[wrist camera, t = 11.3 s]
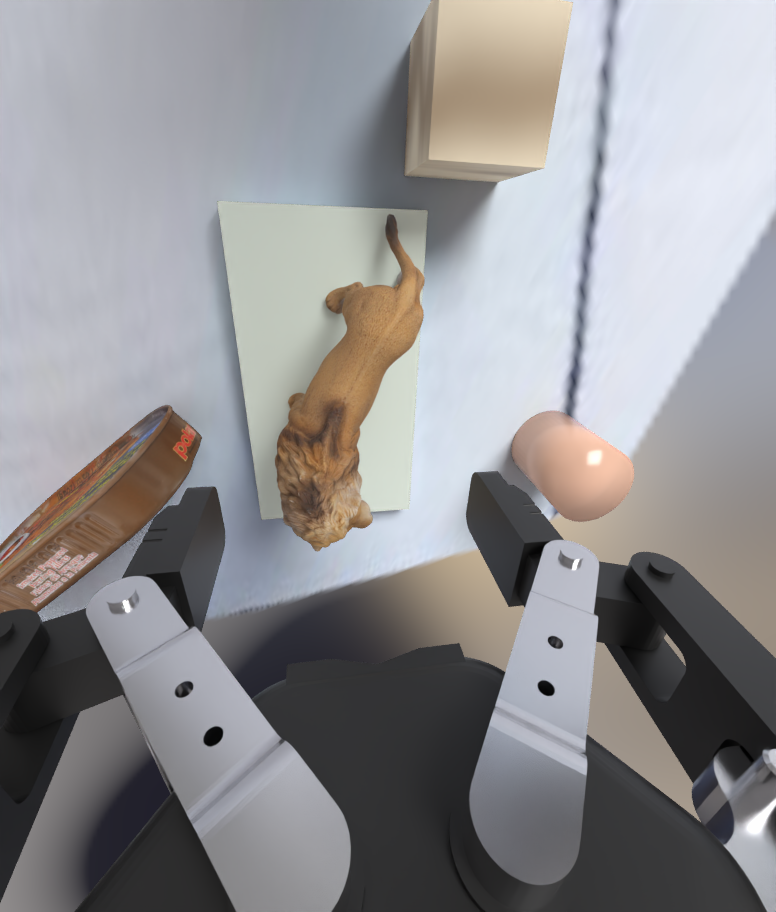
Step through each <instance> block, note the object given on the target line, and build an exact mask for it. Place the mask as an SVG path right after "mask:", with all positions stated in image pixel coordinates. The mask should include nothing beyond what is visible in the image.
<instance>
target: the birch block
mask: <svg viewBox="0 0 776 912" xmlns="http://www.w3.org/2000/svg"><path fill="white" fill-rule="evenodd" d="M572 5H573V2H568V1H561V0H431V2H430V4H429V6H428V8H427V10H426V12H425V14H424V16H423V18H422V20H421V22H420V24H419V26H418V28H417V30H416V32H415V34H414V36H413V38H412V40H411V42H410V61H409V83H408V105H407V127H406V148H405V170H404V176H413V177H428V178H443V179H458V180H472V181H487V182H500V181H504V180H507V179H510V178H513V177H517V176H520V175H523V174H527V173H530V172H533V171H536V170H540V169H543V168H544V166H545V161H546V155H547V149H548V143H549V138H550V132H551V126H552V120H553V115H554V109H555V103H556V97H557V92H558V86H559V80H560V74H561V69H562V63H563V57H564V51H565V46H566V40H567V34H568V28H569V23H570V17H571V11H572Z"/></svg>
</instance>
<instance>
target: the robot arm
mask: <svg viewBox="0 0 776 912" xmlns="http://www.w3.org/2000/svg"><path fill="white" fill-rule="evenodd" d="M466 519H467V525H468V528H469V531H470V533H471V535H472V537H473V539H474V540H475V542H476V544H477V546H478V548H479V550H480V552H481V554H482V556H483V558H484V560H485V562H486V564H487V566H488V567H489V569H490V571H491V573H492V575H493V577H494V579H495V581H496V583H497V585H498V587H499V589H500V591H501V592H502V595H503V596H504V598H505V600H506V602H507V604H508V606H509V607H512V606H520V605H524V607H525V610H524V613H523V616H522V620H521V623H520V626H519V630H518V633H517V636H516V639H515V643H514V646H513V649H512V653H511V656H510V660H509V662H508V666H507V669H506V672H504V671H502V670H501V669H499V668H497V667H495V666H493V665H491V664H489V663H486V662H483V661H480V660H476V659H472V658H467V657H464V655H463V652H462V650H461V647H460V644H459V643H458V644H449V645H441V646H433V647H426V648H418V649H416V650H413V651H411V652H408V653H405V654H403V655H400V656H398V657H395V658H393V659H390V660H387V661H385V662H382V663H379V664H371V663H361V662H353V661H345V660H335V659H327V660H319V661H311V662H302V663H294V664H287V676H286V680H283V681H280V682H278V683H276V684H274V685H272V686H270V687H268V688H267V689H265V690H264V691H262V692H260V693H259V694H257V695H256V696H255V697H254V698H252V699H250V697H249V696H248V695H247V694H246V692H245V691H244V689H243V688H242V687H241V685H240V684H239V683H238V681H237V680H236V679H235V677H234V676H233V675H232V674H231V672H230V671H229V670H228V668H227V667H226V665H225V664H224V663H223V661H222V660H221V659H220V657H219V656H218V655H217V653H216V652H215V651H214V649H213V648H212V647H211V646H210V644H209V643H208V641H207V640H206V639H205V637H204V636H203V635H202V633H201V631H202V627H203V624H204V620H205V616H206V613H207V609H208V605H209V602H210V598H211V594H212V591H213V587H214V584H215V580H216V576H217V573H218V569H219V565H220V562H221V558H222V554H223V551H224V546H225V528H224V523H223V518H222V513H221V507H220V502H219V497H218V493H217V489H216V488H215V487H196V488H187V489H186V491H185V493H184V495H183V497H182V499H181V502H180V504H179V505H174V506H168V507H167V508H165V509H164V510H163V511H162V512H161V513H159V514H158V515H157V516H156V517H155V518H154V520H153V522H152V524H151V525H150V527H149V529H148V532H147V533H146V535H145V536H144V538H143V543H141V544H140V546H139V548H138V549H137V551H136V553H135V555H134V557H133V559H132V560H131V562H130V564H129V566H128V568H127V570H126V572H125V573H124V575H123V577H122V579H119V580H117V581H114V582H112V583H110V584H108V585H107V586H105V587H103V588H102V589H101V590H99V591H98V592H97V593H96V594H95V595H94V596H93V597H92V598H91V600H90V601H89V603H88V605H87V608H85V609H83V610H80V611H77V612H74V613H71V614H67V615H64V616H61V617H58V618H54V619H51V620H48V621H45V622H42V620H41V618H40V616H39V615H38V614H37V613H36V612H35V611H33V610H29V609H16V610H10V611H6V612H3V613H0V902H1V900H2V897H3V895H4V892H5V890H6V888H7V885H8V883H9V880H10V878H11V876H12V873H13V871H14V868H15V866H16V863H17V861H18V859H19V856H20V854H21V852H22V849H23V847H24V844H25V842H26V840H27V837H28V835H29V832H30V830H31V828H32V825H33V823H34V820H35V818H36V816H37V813H38V811H39V808H40V806H41V804H42V801H43V799H44V796H45V794H46V792H47V789H48V787H49V784H50V782H51V780H52V777H53V775H54V772H55V770H56V768H57V765H58V763H59V760H60V758H61V756H62V753H63V751H64V748H65V746H66V744H67V741H68V738H69V736H70V734H71V732H72V729H73V727H74V724H75V722H76V720H77V717H78V715H79V713H80V711H83V710H85V709H88V708H90V707H93V706H95V705H98V704H100V703H103V702H105V701H108V700H110V699H113V698H115V697H118V696H120V695H123V696H124V698H125V700H126V702H127V704H128V706H129V708H130V711H131V713H132V715H133V717H134V719H135V720H136V723H137V725H138V727H139V729H140V731H141V733H142V735H143V737H144V739H145V741H146V743H147V745H148V747H149V749H150V751H151V753H152V755H153V757H154V759H155V762H156V763H157V766H158V768H159V770H160V772H161V774H162V776H163V778H164V781H165V783H166V785H167V787H168V789H169V791H170V793H171V794H170V796H169V797H168V798H167V799H166V800H165V801H164V803H163V804H162V805H161V806H160V808H159V809H158V810H157V811H156V813H155V814H154V815H153V816H152V817H151V819H150V820H149V821H148V822H147V823H146V825H145V826H144V827H143V828H142V830H141V831H140V832H139V833H138V835H137V836H136V837H135V838H134V839H133V841H132V842H131V843H130V844H129V846H128V847H127V848H126V849H125V850H124V852H123V853H122V854H121V855H120V857H119V858H118V859H117V860H116V861H115V863H114V864H113V865H112V866H111V867H110V869H109V870H108V871H107V872H106V874H105V875H104V876H103V877H102V879H101V880H100V881H99V882H98V883H97V885H96V886H95V887H94V888H93V890H92V891H91V892H90V893H89V894H88V896H87V897H86V898H85V899H84V901H83V902H82V903H81V904H80V905H79V907H78V908H77V909H76V910H75V912H776V658H775V657H773V655H771V653H770V652H769V651H768V650H767V649H765V647H763V646H762V644H760V643H759V642H758V641H757V640H756V639H755V638H754V637H753V636H752V635H751V634H750V633H749V632H748V631H747V630H746V629H745V628H744V627H743V626H742V625H741V624H740V623H739V622H738V621H737V620H736V619H735V618H734V617H733V616H732V615H731V614H730V613H729V612H728V611H727V610H726V609H725V608H724V607H723V606H722V605H721V604H720V603H719V602H718V601H717V600H716V599H715V598H714V597H713V596H712V595H711V594H710V593H709V592H708V591H707V590H706V589H705V588H704V587H703V586H702V585H701V584H700V583H699V582H698V581H697V580H696V579H695V578H694V577H693V576H692V575H691V574H690V573H689V572H688V571H687V570H686V569H685V568H684V567H683V566H681V565H680V564H678V563H677V562H675V561H673V560H672V559H670V558H668V557H665V556H663V555H660V554H656V553H651V552H639V553H636V554H634V555H633V556H632V558H631V560H630V562H629V565H628V566H625V565H618V564H612V563H605V562H599V561H598V559H597V557H596V556H595V555H594V554H593V553H592V552H591V551H590V550H589V549H587V548H586V547H584V546H582V545H580V544H578V543H575V542H572V541H567V540H564V539H563V538H562V537H561V536H560V535H559V533H558V532H557V531H556V529H554V527H553V526H552V524H551V523H550V522H549V521H548V519H547V518H546V517H545V516H544V515H543V514H541V511H540V510H539V508H538V507H537V506H535V503H534V502H533V501H532V500H531V498H530V497H529V496H528V495H527V493H525V492H523V491H522V490H520V489H519V488H517V487H516V486H514V485H508V484H507V483H506V481H505V480H504V479H503V478H502V476H501V475H500V474H499V472H497V471H492V472H475V473H474V474H473V475H472V478H471V484H470V491H469V498H468V504H467V511H466ZM666 633H667V634H668V636H669V637H670V638H671V639H672V641H673V642H674V643H675V644H676V646H677V647H678V648H679V649H680V651H681V652H682V654H683V656H684V659H685V663H686V666H685V665H684V664H683V662H682V661H681V660H680V659H679V657H678V656H677V655H676V654H675V652H674V651H673V650H672V648H671V647H670V646H669V645H668V643H667V642H666V641H665V639H664V636H665V635H666ZM596 642H602V643H605V645H606V646H607V648H608V650H609V651H610V653H611V654H612V656H613V657H614V659H615V661H616V662H617V664H618V665H619V667H620V669H621V670H622V672H623V673H624V675H625V676H626V678H627V680H628V681H629V683H630V684H631V686H632V687H633V689H634V691H635V692H636V694H637V695H638V697H639V698H640V700H641V702H642V703H643V705H644V706H645V708H646V709H647V711H648V713H649V714H650V716H651V717H652V719H653V720H654V722H655V724H656V725H657V727H658V728H659V730H660V732H661V733H662V735H663V736H664V738H665V739H666V741H667V743H668V744H669V746H670V747H671V749H672V751H673V752H674V754H675V755H676V757H677V758H678V760H679V761H680V763H681V765H682V766H683V768H684V770H685V771H686V773H687V774H688V776H689V777H690V779H691V781H692V782H693V787H692V800H693V805H694V807H695V810H696V813H697V814H698V817H699V819H700V821H701V822H700V821H698V820H697V819H696V818H694V816H692V815H691V814H690V813H688V812H687V811H686V810H685V809H683V808H682V807H681V806H679V805H678V804H677V803H676V802H674V801H673V800H672V799H670V798H669V797H668V796H666V795H665V794H664V793H663V792H661V791H660V790H659V789H657V788H656V787H655V786H653V785H652V784H651V783H650V782H648V781H647V780H646V779H644V778H643V777H642V776H640V775H639V774H638V773H637V772H635V771H634V770H633V769H631V768H630V767H629V766H628V765H626V764H625V763H624V762H622V761H621V760H620V759H618V758H617V757H616V756H614V755H613V754H612V753H611V752H609V751H608V750H606V749H605V748H604V747H603V746H602V745H600V744H599V743H597V742H596V741H595V740H594V739H592V738H591V737H590V736H589V735H587V724H588V715H589V705H590V696H591V686H592V676H593V667H594V657H595V647H596Z"/></svg>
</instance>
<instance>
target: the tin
mask: <svg viewBox="0 0 776 912" xmlns="http://www.w3.org/2000/svg"><path fill="white" fill-rule="evenodd" d="M201 439H202V437H201V435H200V434H199V433H198V432H197V431H196V430H195V429H194V428H193V427H192V426H190V425H189V424H188V423H187V422H186V421H185V420H183V419H182V418H181V417H180V416H178V415H177V414H176V413H175V412H174V411H173V410H172V407H171V406H169V405H165V406H162V407H159V408H158V409H156V410H154V411H153V412H151V413H150V414H148V415H147V416H146V417H145V418H143V419H142V420H141V421H140V422H138V423H137V424H136V425H135V426H133V427H132V428H131V429H130V430H129V431H127V432H126V433H125V434H124V435H123V436H121V437H120V438H119V439H118V440H117V441H115V442H114V443H113V444H112V445H111V446H110V447H108V448H107V449H106V450H105V451H104V452H103V453H101V454H100V455H99V456H98V457H97V458H95V459H94V460H93V461H92V462H91V463H89V464H88V465H87V466H86V467H85V468H83V469H82V470H81V471H80V472H79V473H77V474H76V475H75V476H74V477H73V478H71V479H70V480H69V481H68V482H67V483H66V484H64V485H63V486H62V487H61V488H60V489H59V490H57V491H56V492H55V493H54V494H53V495H51V496H50V497H49V498H48V499H47V500H46V501H45V502H44V503H43V504H42V505H41V506H40V507H38V508H37V509H36V510H35V511H34V512H33V513H32V514H31V515H30V516H29V517H28V518H27V519H26V520H25V521H24V522H22V523H21V524H20V526H19V527H17V528H16V529H15V531H14V532H13V533H12V534H11V535H10V536H9V537H8V538H7V539H6V540H5V541H4V542H3V543H2V544H1V545H0V613H3V612H6V611H10V610H16V609H29V610H33V611H35V612H36V613H37V612H38V611H40V610H41V609H42V608H44V607H45V606H46V605H48V604H49V603H50V602H51V601H53V600H54V599H55V598H57V597H58V596H59V595H60V594H61V593H63V592H64V591H65V590H67V589H68V588H69V587H70V586H72V585H73V584H74V583H76V582H77V581H78V580H79V579H81V578H82V577H83V576H84V575H86V574H87V573H88V572H90V571H91V570H92V569H93V568H95V567H96V566H97V565H98V564H100V563H101V562H102V561H103V560H104V559H106V558H107V557H108V556H110V555H111V554H112V553H113V552H114V551H116V550H117V549H118V548H119V547H121V546H122V545H123V544H124V543H126V542H127V541H128V540H129V539H131V538H132V537H133V536H134V535H135V534H136V533H137V532H138V531H140V530H141V529H142V528H143V527H144V526H145V525H146V524H147V523H148V522H149V521H150V520H151V519H152V518H153V517H154V516H155V515H156V514H157V513H158V512H159V511H160V510H161V509H162V508H163V506H164V505H165V504H166V503H167V502H168V501H169V499H170V498H171V497H172V496H173V495H174V493H175V492H176V491H177V489H178V488H179V487H180V485H181V484H182V483H183V481H184V480H185V478H186V477H187V475H188V474H189V472H190V469H191V467H192V464H193V460H194V458H195V455H196V453H197V451H198V448H199V446H200V442H201Z"/></svg>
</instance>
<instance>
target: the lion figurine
mask: <svg viewBox="0 0 776 912" xmlns="http://www.w3.org/2000/svg"><path fill="white" fill-rule="evenodd" d="M385 233H386V238H387V241H388V243H389V246H390V248H391V250H392V252H393V253H394V255H395V257H396V259H397V261H398V263H399V266H400V268H401V272H400V273H399V275H398V278H397V285H396V286H395V287H394V288H392V287H390V286H387V285H374V286H368V287H363V284H362V283H361V282H355V283H353V284H351V285H348V286H346V287H340V288H337V289H334V290H333V291H331V292H330V293H329V294H328V295H327V297H326V299H325V301H326V306H327V308H328V309H329V310H330V311H332V312H334V313H336V314H341V313H342V314H343V316H344V319H345V323H346V325H347V331H346V334H345V335H344V337H343V338H342V339H341V341H340V342H339V343H338V344H337V345H336V346H335V347H334V348H333V349H332V350H331V351H330V352H329V354H328V355H327V356H326V357H325V359H324V360H323V362H322V363H321V365H320V367H319V369H318V371H317V373H316V374H315V376H314V378H313V379H312V381H311V383H310V385H309V387H308V388H307V391H306V394H304V393H296V394H293V395H292V396H291V397H290V398H289V400H288V404H289V407H290V409H291V410H290V411H289V414H288V420H289V422H288V424H287V425H286V426H285V428H284V429H283V430H282V431H281V433H280V435H279V437H278V441H277V455H276V457H275V466H276V469H277V483H278V488H279V490H280V497H281V508H282V511H283V521H284V523H285V524H286V525H288V526H290V527H292V529H293V531H294V533H295V534H296V535H297V536H299V537H301V538H302V539H303V540H304V541H307V542H309V543H310V544H311V545H312V547H313V549H314V550H315V551H320V549H321V548H322V547H328V546H329V545H330V544H331V543H333V542H337V541H339V540H340V539H343V538H344V537H345V535H346V533H347V532H348V531H349V530H350V529H351V528H352V527H357V528H365V527H367V526H369V525H370V524H371V523H372V520H373V517H372V515H371V511H370V507H369V505H368V504H367V503H366V502H365V501H364V500H361V499H362V498H361V495H360V489H361V486H362V477H361V475H360V474H359V472H358V465H359V462H360V459H359V451H358V448H357V443H358V440H359V437H360V426H361V424H362V423H363V421H364V420H365V418H366V417H367V415H368V413H369V411H370V410H371V407H372V405H373V403H374V401H375V398H376V396H377V393H378V390H379V388H380V385H381V382H382V379H383V376H384V374H385V372H386V371H387V369H388V368H389V367H390V366H391V365H392V364H393V363H394V362H395V361H396V360H397V359H399V358H400V357H401V356H402V355H403V354H404V353H406V352H407V351H408V350H409V349H410V348H411V347H412V346H413V344H414V342H415V340H416V337H417V335H418V332H419V330H420V327H421V325H422V321H423V309H422V306H421V304H420V293H421V290H422V288H423V286H424V276H423V274H422V273H421V272H420V270H419V269H418V268H417V267H415V266H414V264H413V262H412V260H411V258H410V257H409V256H408V255H407V253H406V252H405V251H404V249H403V247H402V245H401V243H400V241H399V239H398V229H397V221H396V218H395V217H394V215H392V214H389V215H388V216H387V223H386V226H385Z"/></svg>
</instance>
